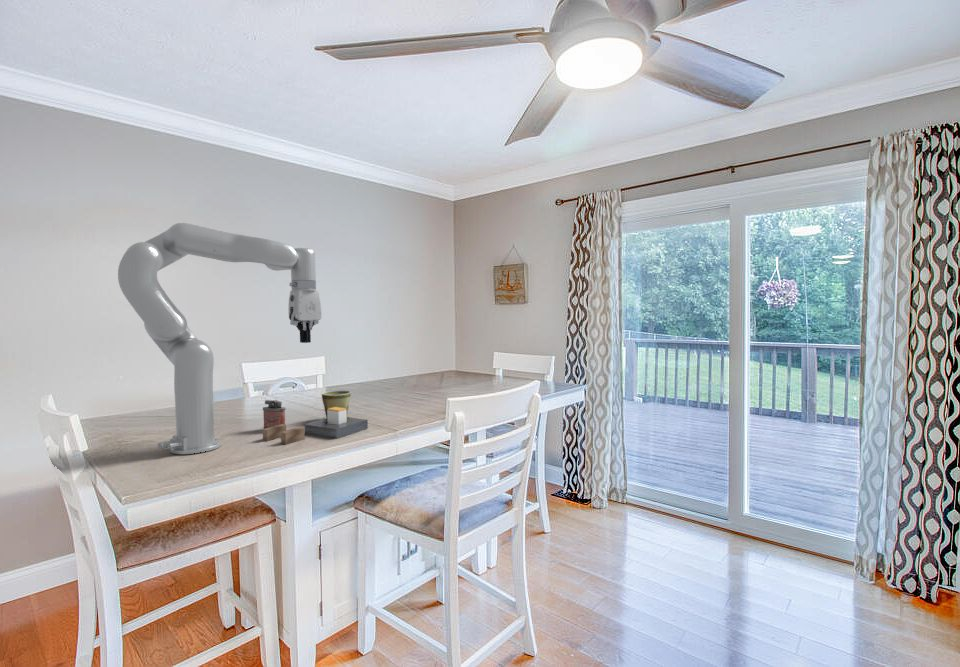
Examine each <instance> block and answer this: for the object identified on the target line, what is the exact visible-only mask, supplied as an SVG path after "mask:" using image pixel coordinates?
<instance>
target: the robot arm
mask: <svg viewBox="0 0 960 667" xmlns="http://www.w3.org/2000/svg"><path fill="white" fill-rule="evenodd" d="M188 255H191V256H196V257H203V258H207V259H212V260H217V261H222V262H228V263H255V264H262V265H265V267H266V268H268V269H269V270H271V271H276V272H277V271H289V270H290V277H291V278H290V279H291V281H290V282H289V285H288V286H290V287H291V290H290V291H289V297H288V320H289V322H290V325H291V326H294V327H295V326H296V328H297V331H299V343H303V344H307V343H312V342H311V338H312V337H311V331H312V330H313V327H314V326H316V325H318V324H319V323H320V320H322V305H321V299H320V294H319V291H318V290H317V283H316V282H317V280H316V278H317V277H316V274H317V273H316V253H315V251H314V249H312V248H309V247H308V248H307V247H296V248H294V247H293V246H292V245H290V244H287V243H284V242H280V241H276V240H271V239H267V238H263V237H262V238H261V237H256V236H249V235H244V234H237V233H232V232H229V231H228V232H227V231H222V230H217V229H214V228H209V227H205V226H200V225H195V224H192V223H185V222H178V223H175V224H172V225H171V226H170V227H169V228H168V229H166V230H165V231H163V232H161V233H160V234H158V235H156V236H154V237H152V238H149V239H148V240H145V241H140V242H139V241H138V242H135V243H133V244H132V245H130V246H129V247H128V248H127V249H126V251H125V252H124V254H123V255H122V257H121V260H120V261H119V264H118V269H117V281H118V285H119V288H120V290H121V292H122V294H123V295H124V298H125V299H126V300H127V302H128V303H129V304H130V306H131V307H132V308H133V310H134V311H135V312H136V314H137V315H138V316H139V317H140V319H141V320H142V322H143V323H144V324H143V325H144V329H145V331H146V333H147V334H148V336H149V337H150V338H151V339H152V341H153V342H154V343H155V345H156V346H157V347H158V348H159V350H160V351H161V352H162V353H163V354H164V356H166V358H167V359H168V360H169V362H171V364H172V365H173V366H174V369H173V370H174V374H173V375H174V376H173V377H174V382H173V386H174V387H173V390H174V408H175V409H174V410H175V431H176V433H175V435H172V438H171V439H169V440H165V441H162V442H158V443H157V447H158V450H160V451H161V450H163V449H164V450H165V449H170V453H172V454H175V455H194V453H195V454H201V453H206V452H210V451H214V450H216V449H218V448H220V447H221V446H222V441H221V440H220V439H217V438H216V435H215V429H216V428H215V412H214V411H215V408H214V405H215V404H214V379H213V378H214V376H213V375H214V365H215V364H214V354H213V351H212V348H211V347H210V346H209V345H208V343H206V342H204V341H203V340H200V339H198V338H197V337H196V335H195V334H194V332H192V330H191V329H190V327H189V326H188V322H187V319H186V317H185V315H184V314H183V313H182V312H181V311H180V309H178V307H177V306H176V305H175V303H174V302H173V301H172V300H171V299H170V297H169V296H168V295H167V294H166V291H165V290H164V288H163V287H162V286H161V284H160V281H159V279H158V272H159V271H160V270H162V269H164V268H166V267H168V266H170V265H172V264H173V263H175V262H177V261H179V260H181V259H183V258H184V257H185V256H188ZM205 451H206V452H205ZM200 452H201V453H200Z"/></svg>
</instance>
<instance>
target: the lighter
mask: <svg viewBox="0 0 960 667" xmlns="http://www.w3.org/2000/svg"><path fill="white" fill-rule="evenodd" d="M264 405H267V406H263V407H262V412H263V429H265V428H269V427H273V426H277V425H281V424H284V425H286V407H284V406H283V402H282V401H279V400H278V399H274V400H271V399H266V400H264ZM263 429H262V430H263Z"/></svg>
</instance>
